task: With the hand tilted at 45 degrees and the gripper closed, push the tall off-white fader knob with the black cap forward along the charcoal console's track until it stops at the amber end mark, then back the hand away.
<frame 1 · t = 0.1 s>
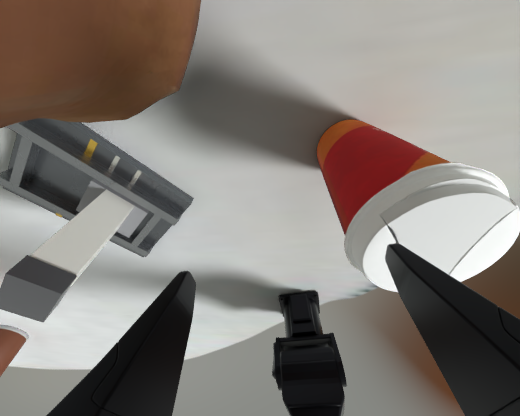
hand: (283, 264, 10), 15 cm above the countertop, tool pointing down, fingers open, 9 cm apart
fader: (82, 242, 20), point 7 cm above the countertop, slide at 0.0 cm
paper cup: (343, 146, 22), on the countertop
coffee cup: (11, 331, 45), on the countertop
console: (122, 200, 26), on the countertop
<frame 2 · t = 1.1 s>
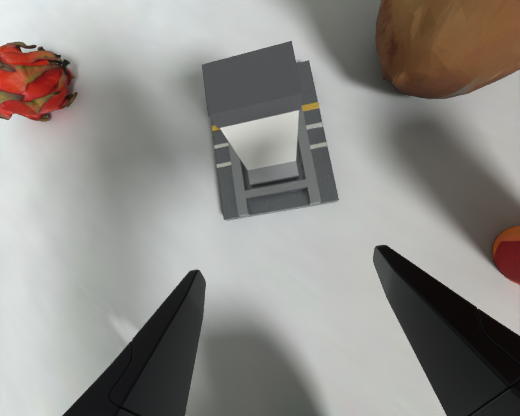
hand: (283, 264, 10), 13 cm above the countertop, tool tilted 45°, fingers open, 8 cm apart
fader: (263, 129, 18), point 7 cm above the countertop, slide at 0.0 cm
console: (271, 159, 24), on the countertop
dragon fruit: (57, 100, 30), on the countertop
butternut squash: (421, 69, 23), on the countertop
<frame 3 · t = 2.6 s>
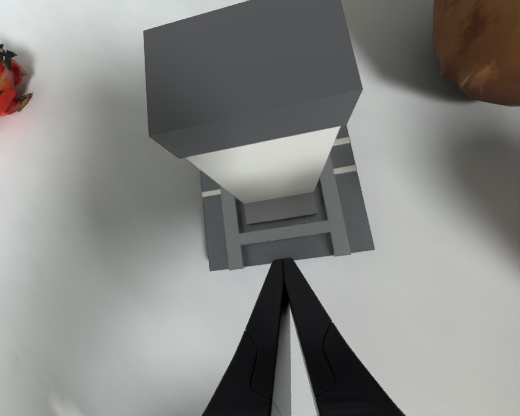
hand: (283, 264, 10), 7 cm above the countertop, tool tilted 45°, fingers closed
fader: (267, 151, 11), point 7 cm above the countertop, slide at 0.0 cm
console: (277, 186, 18), on the countertop
dragon fruit: (8, 103, 24), on the countertop
butternut squash: (486, 65, 17), on the countertop
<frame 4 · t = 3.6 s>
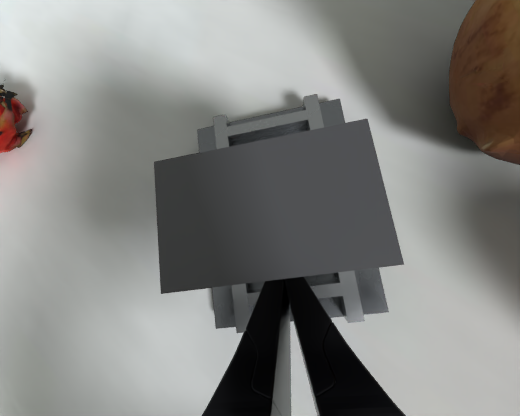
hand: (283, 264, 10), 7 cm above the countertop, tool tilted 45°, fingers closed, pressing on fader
fader: (279, 226, 10), point 7 cm above the countertop, slide at 0.2 cm, touching gripper
console: (285, 235, 17), on the countertop
dragon fruit: (9, 137, 24), on the countertop
butternut squash: (501, 113, 17), on the countertop
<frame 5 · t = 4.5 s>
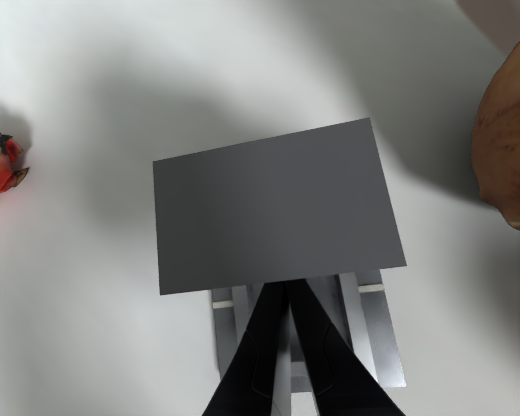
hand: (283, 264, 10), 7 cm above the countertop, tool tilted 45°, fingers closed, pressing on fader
fader: (279, 226, 10), point 7 cm above the countertop, slide at 4.6 cm, touching gripper
console: (294, 292, 16), on the countertop
dragon fruit: (4, 174, 23), on the countertop
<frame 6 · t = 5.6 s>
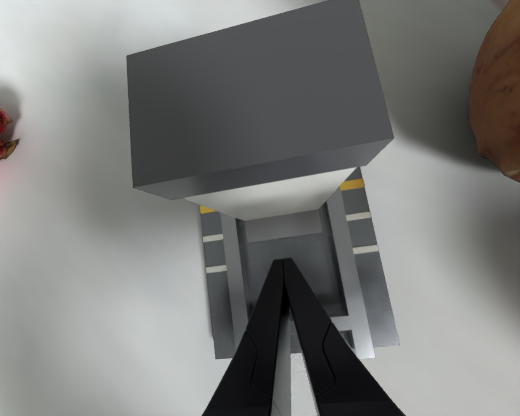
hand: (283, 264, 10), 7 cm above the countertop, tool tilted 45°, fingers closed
fader: (270, 173, 10), point 7 cm above the countertop, slide at 4.5 cm
console: (288, 258, 16), on the countertop
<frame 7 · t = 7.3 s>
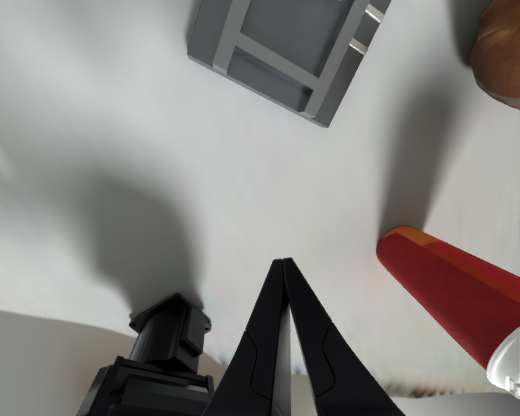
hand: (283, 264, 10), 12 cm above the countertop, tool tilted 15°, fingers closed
paper cup: (397, 245, 26), on the countertop
console: (294, 14, 16), on the countertop
butternut squash: (497, 43, 19), on the countertop
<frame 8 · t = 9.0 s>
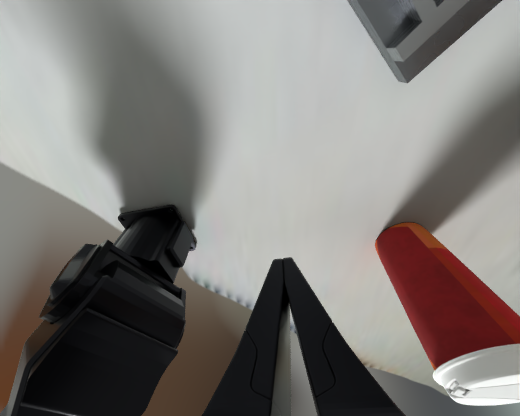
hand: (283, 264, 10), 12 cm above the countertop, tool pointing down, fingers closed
paper cup: (399, 238, 26), on the countertop
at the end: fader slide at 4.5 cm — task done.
